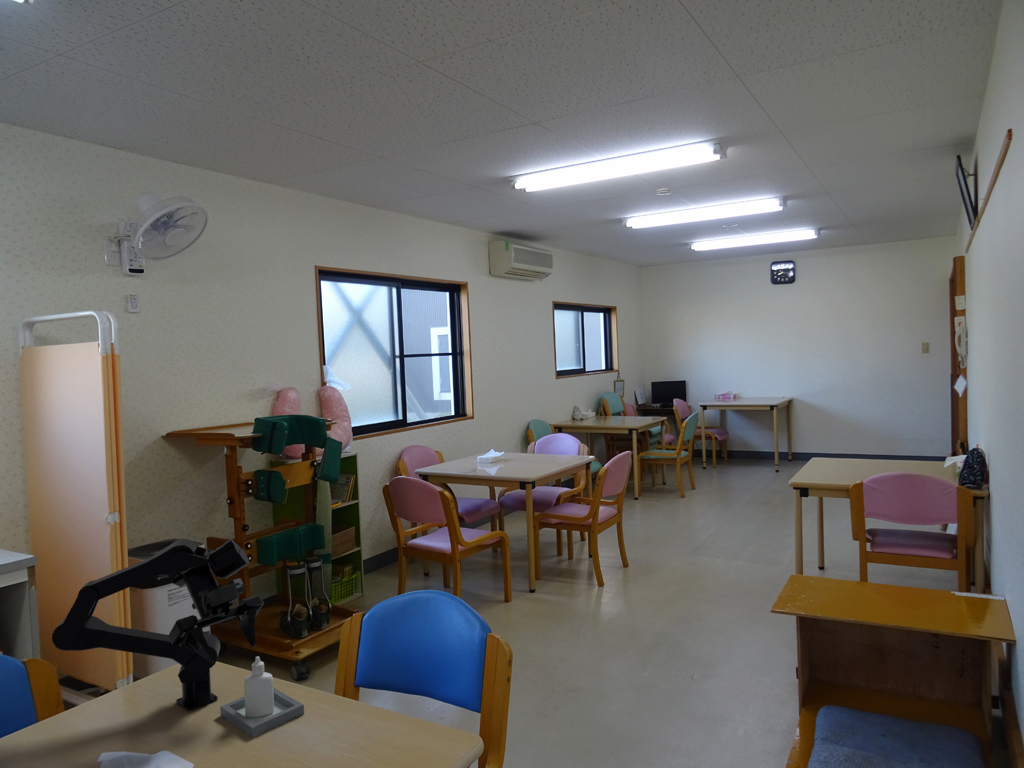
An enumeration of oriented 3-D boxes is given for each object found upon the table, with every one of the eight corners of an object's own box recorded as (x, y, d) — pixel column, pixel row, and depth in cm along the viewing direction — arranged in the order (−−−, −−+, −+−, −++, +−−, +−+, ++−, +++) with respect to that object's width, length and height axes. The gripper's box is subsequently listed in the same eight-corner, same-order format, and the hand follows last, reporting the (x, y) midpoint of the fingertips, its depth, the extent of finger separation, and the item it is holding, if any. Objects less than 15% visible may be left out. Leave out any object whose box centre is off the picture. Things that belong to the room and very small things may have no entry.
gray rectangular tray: (220, 715, 144) (220, 706, 144) (270, 694, 153) (270, 685, 153) (252, 737, 135) (252, 727, 135) (304, 714, 144) (303, 704, 144)
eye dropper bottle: (253, 707, 146) (250, 652, 146) (277, 709, 145) (275, 653, 145) (241, 718, 142) (239, 661, 142) (266, 720, 141) (264, 662, 141)
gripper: (172, 581, 138) (203, 648, 132) (257, 558, 153) (288, 618, 146) (156, 612, 143) (185, 678, 137) (239, 587, 158) (269, 646, 151)
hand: (234, 653), depth 143 cm, fingers open, 9 cm apart
